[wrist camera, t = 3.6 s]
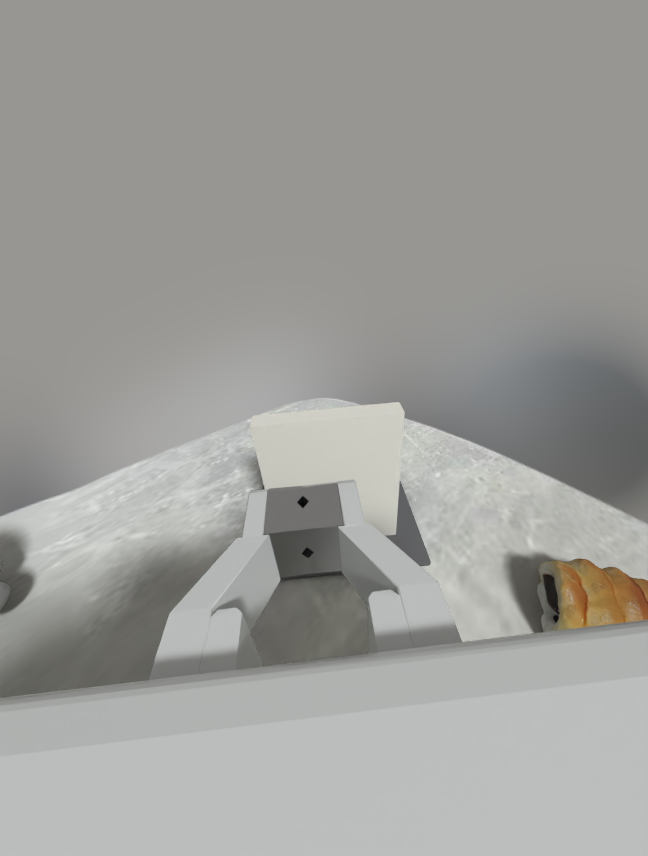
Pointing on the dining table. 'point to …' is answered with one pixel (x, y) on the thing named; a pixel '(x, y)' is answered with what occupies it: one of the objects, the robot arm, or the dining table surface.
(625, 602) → the pastry
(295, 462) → the tile
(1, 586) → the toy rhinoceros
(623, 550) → the dining table surface
